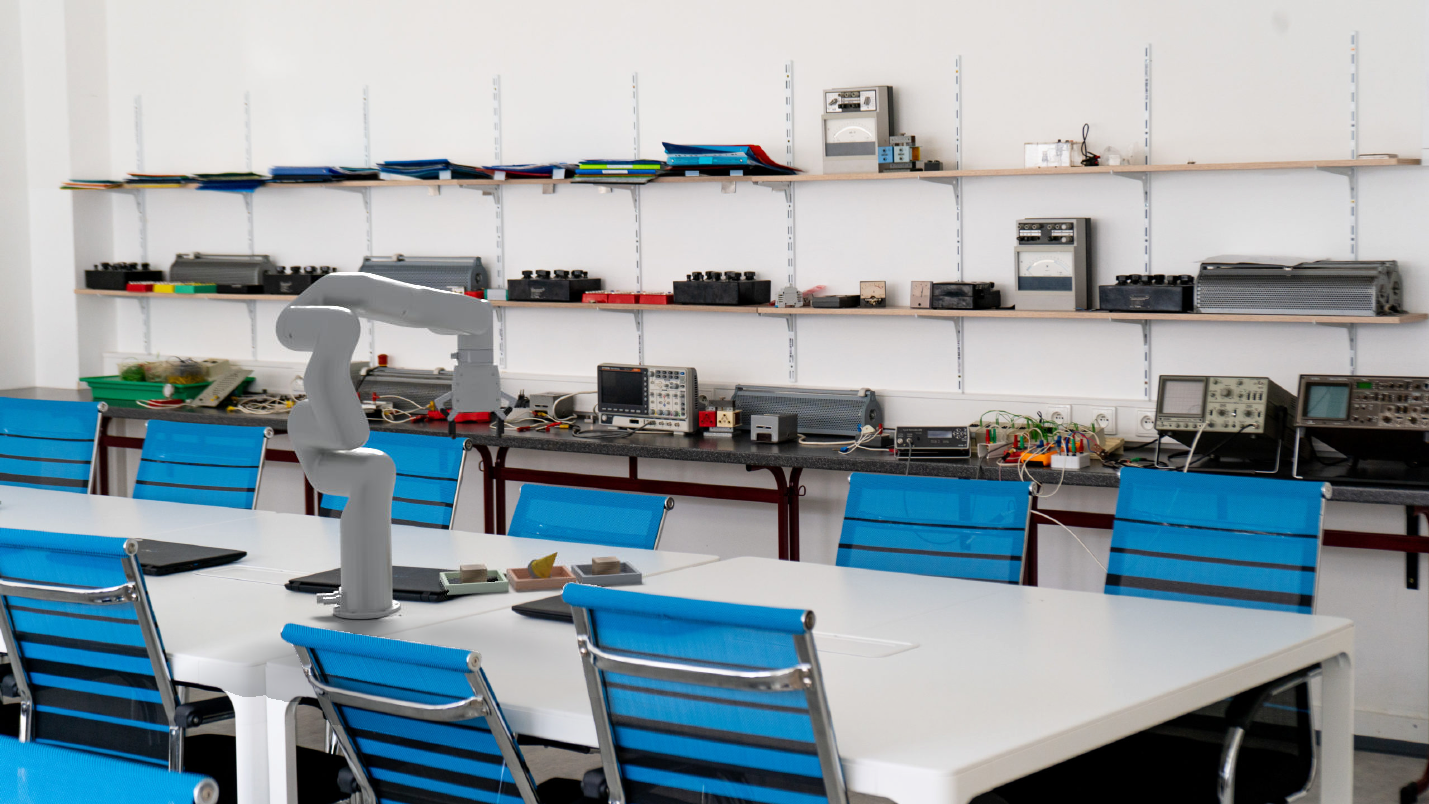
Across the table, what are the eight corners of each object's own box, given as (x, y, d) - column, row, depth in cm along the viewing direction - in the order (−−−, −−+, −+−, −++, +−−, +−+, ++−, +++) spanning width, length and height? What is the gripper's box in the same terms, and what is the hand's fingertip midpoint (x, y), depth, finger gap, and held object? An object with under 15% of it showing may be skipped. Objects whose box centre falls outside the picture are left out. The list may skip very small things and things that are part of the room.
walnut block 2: (597, 581, 279) (596, 562, 278) (592, 576, 283) (591, 557, 283) (620, 579, 280) (620, 561, 280) (614, 574, 285) (614, 556, 284)
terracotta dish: (515, 593, 270) (515, 581, 270) (506, 580, 282) (506, 568, 282) (576, 589, 273) (576, 577, 273) (564, 576, 285) (564, 565, 285)
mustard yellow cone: (543, 579, 282) (570, 551, 278) (538, 595, 277) (565, 566, 273) (523, 565, 281) (549, 537, 276) (517, 581, 276) (544, 552, 272)
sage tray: (446, 597, 266) (445, 585, 265) (439, 584, 278) (439, 572, 277) (508, 593, 269) (508, 581, 269) (499, 580, 281) (499, 569, 281)
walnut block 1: (462, 589, 270) (462, 570, 270) (460, 584, 275) (459, 565, 275) (487, 587, 272) (487, 568, 271) (484, 582, 277) (484, 563, 276)
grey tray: (582, 588, 274) (582, 577, 274) (571, 576, 286) (571, 564, 286) (641, 585, 278) (641, 573, 277) (627, 572, 290) (627, 561, 289)
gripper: (435, 359, 273) (436, 441, 275) (519, 358, 278) (519, 439, 280) (432, 357, 280) (433, 437, 282) (513, 356, 286) (514, 435, 287)
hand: (476, 438), depth 281 cm, fingers open, 9 cm apart
